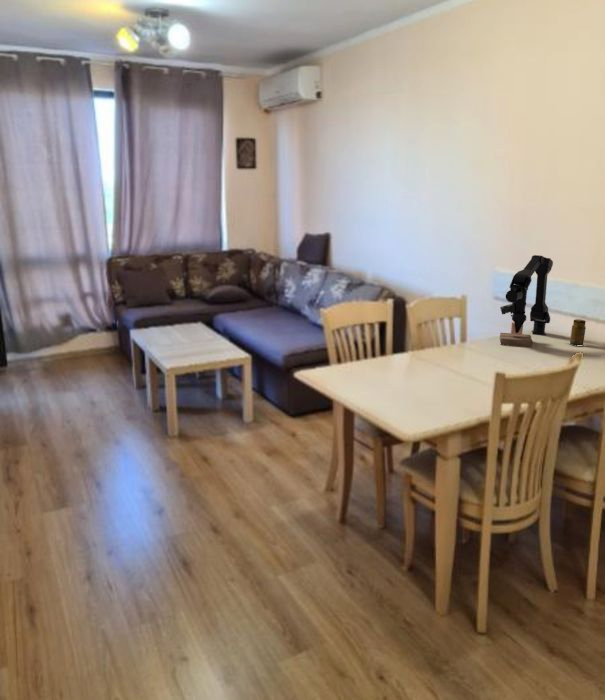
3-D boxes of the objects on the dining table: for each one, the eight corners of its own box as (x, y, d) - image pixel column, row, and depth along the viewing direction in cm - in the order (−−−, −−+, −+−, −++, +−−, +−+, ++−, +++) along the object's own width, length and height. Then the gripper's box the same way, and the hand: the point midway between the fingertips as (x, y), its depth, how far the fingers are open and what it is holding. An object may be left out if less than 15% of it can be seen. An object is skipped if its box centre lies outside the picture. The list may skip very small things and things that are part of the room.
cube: (510, 332, 296) (511, 322, 294) (521, 332, 294) (522, 322, 293) (511, 334, 291) (512, 324, 290) (522, 335, 290) (523, 324, 289)
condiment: (578, 342, 297) (581, 318, 294) (589, 346, 289) (593, 322, 286) (565, 343, 295) (568, 319, 292) (576, 347, 287) (579, 322, 284)
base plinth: (499, 338, 302) (500, 332, 301) (529, 340, 299) (529, 334, 298) (500, 344, 289) (501, 338, 288) (531, 347, 286) (532, 341, 285)
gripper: (501, 295, 299) (498, 326, 303) (502, 302, 282) (499, 334, 286) (525, 297, 296) (521, 328, 300) (528, 303, 279) (524, 336, 283)
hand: (516, 331), depth 293 cm, fingers closed on cube, 5 cm apart
